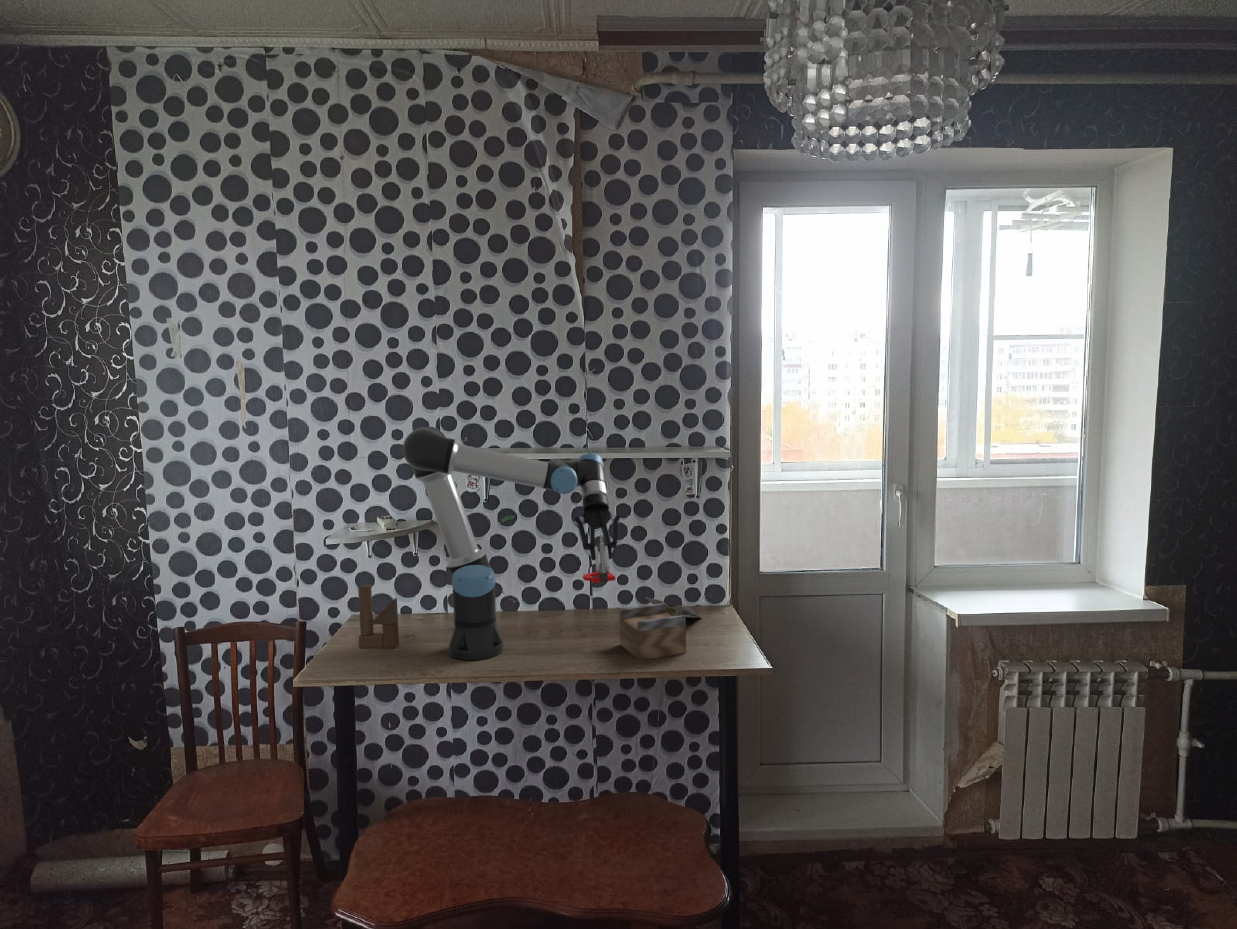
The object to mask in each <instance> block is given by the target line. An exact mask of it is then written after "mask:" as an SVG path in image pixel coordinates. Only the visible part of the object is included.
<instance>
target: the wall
mask: <svg viewBox="0 0 1237 929" xmlns="http://www.w3.org/2000/svg"><path fill="white" fill-rule="evenodd" d="M644 597H645V599H646V600H647V601H649V603H651V605H654V604H661V603H665V602H664V601H663V600H661V599H657V598H653V597H652V598H651V597H647V596H644ZM666 613H668V614H669V615H671V616H679V615H685V616H692V617H694V618H697V619H699V618H700V619H702V617H701V616H700V614H698V613H697V612H696V611H695V610H694V609H692V608H691V607H687V606H683V605H680V604H675V606H674V607H673V606H668V604H666Z"/></svg>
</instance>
